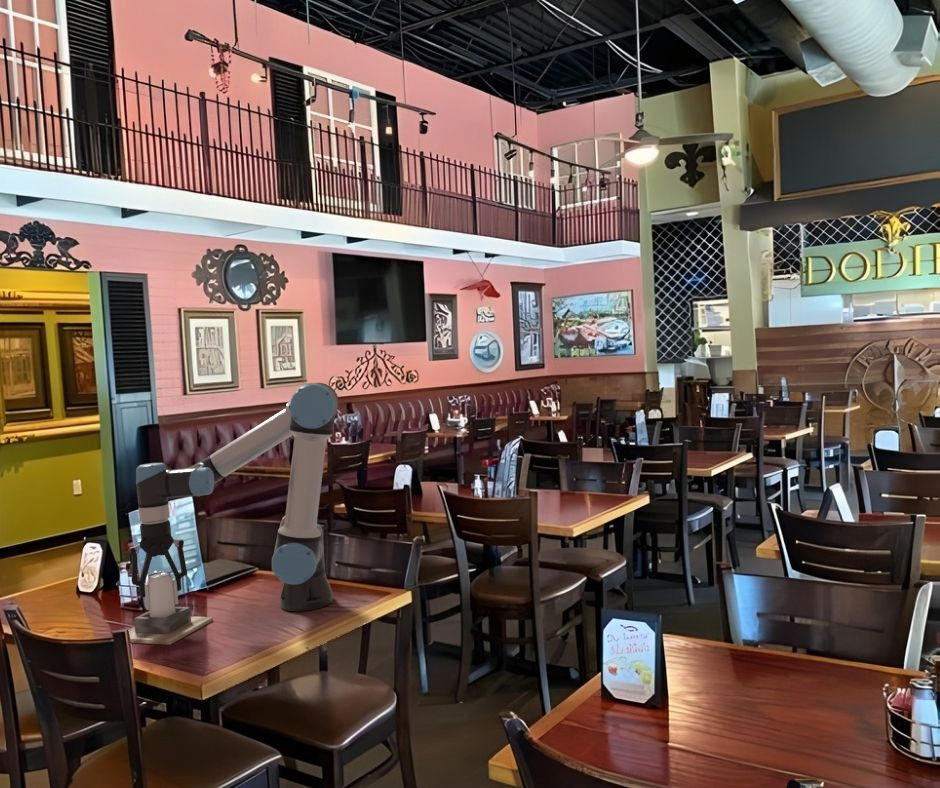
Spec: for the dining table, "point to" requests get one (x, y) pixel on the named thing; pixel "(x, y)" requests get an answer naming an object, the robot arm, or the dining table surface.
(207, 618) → the socket
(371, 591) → the dining table surface
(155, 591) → the can
